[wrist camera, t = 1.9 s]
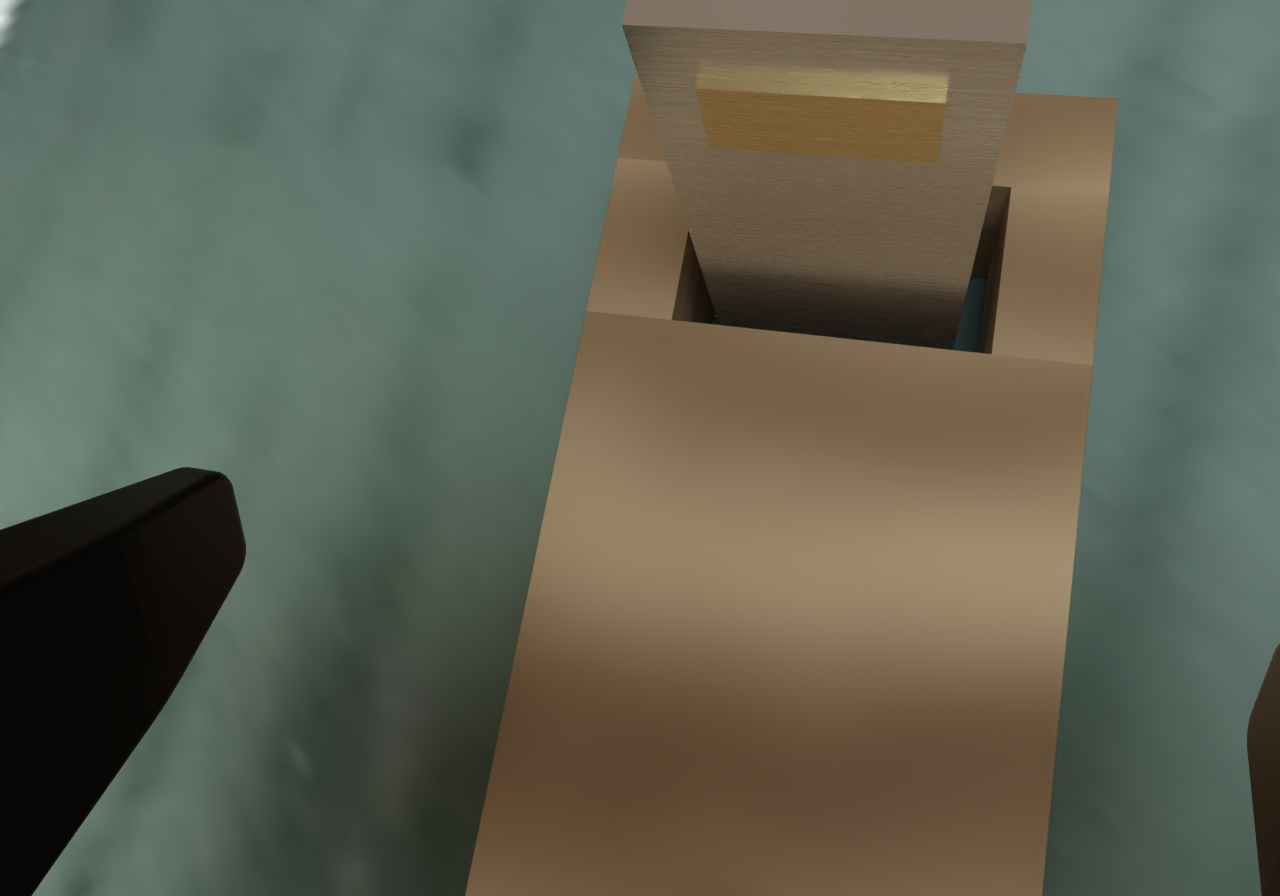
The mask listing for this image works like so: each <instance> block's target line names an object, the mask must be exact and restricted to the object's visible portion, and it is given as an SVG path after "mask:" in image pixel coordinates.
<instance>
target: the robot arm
mask: <svg viewBox="0 0 1280 896" xmlns="http://www.w3.org/2000/svg"><path fill="white" fill-rule="evenodd" d="M245 555H246V543H245V538H244V534H243V529H242V525H241V520H240V516H239V512H238V507H237V503H236V499H235V494H234V490H233V487H232V484H231V482H230V480H229V479H228V478H227V477H226V476H225V475H224V474H222V473H220V472H216V471H210V470H204V469H197V468H190V467H183V468H178V469H175V470H172V471H169V472H166V473H163V474H160V475H158V476H155V477H152V478H149V479H146V480H143V481H140V482H137V483H134V484H132V485H129V486H126V487H123V488H120V489H117V490H114V491H111V492H108V493H105V494H103V495H100V496H97V497H94V498H91V499H88V500H85V501H82V502H79V503H77V504H74V505H71V506H68V507H65V508H62V509H59V510H56V511H53V512H51V513H48V514H45V515H42V516H39V517H36V518H33V519H30V520H27V521H24V522H22V523H19V524H16V525H13V526H10V527H7V528H4V529H1V530H0V896H32V894H33V893H34V891H35V890H36V888H37V887H38V886H39V884H40V883H41V881H42V880H43V879H44V877H45V876H46V874H47V873H48V871H49V870H50V869H51V867H52V866H53V864H54V863H55V861H56V860H57V859H58V857H59V856H60V854H61V853H62V851H63V850H64V849H65V847H66V846H67V844H68V843H69V842H70V840H71V839H72V837H73V836H74V834H75V833H76V832H77V830H78V829H79V827H80V826H81V824H82V823H83V822H84V820H85V819H86V817H87V816H88V814H89V813H90V812H91V810H92V809H93V807H94V806H95V805H96V803H97V802H98V800H99V799H100V797H101V796H102V795H103V793H104V792H105V790H106V789H107V787H108V786H109V785H110V783H111V782H112V780H113V779H114V777H115V776H116V775H117V773H118V772H119V770H120V769H121V768H122V766H123V765H124V763H125V762H126V760H127V759H128V758H129V756H130V755H131V753H132V752H133V750H134V749H135V748H136V746H137V745H138V743H139V742H140V740H141V739H142V738H143V736H144V735H145V733H146V732H147V731H148V729H149V728H150V726H151V725H152V723H153V722H154V720H155V719H156V717H157V716H158V714H159V713H160V711H161V710H162V708H163V707H164V705H165V704H166V702H167V701H168V699H169V698H170V696H171V694H172V693H173V691H174V689H175V688H176V686H177V684H178V683H179V681H180V679H181V678H182V676H183V674H184V672H185V670H186V669H187V667H188V665H189V663H190V661H191V660H192V658H193V656H194V654H195V652H196V651H197V649H198V647H199V645H200V644H201V642H202V640H203V638H204V636H205V635H206V633H207V631H208V629H209V627H210V626H211V624H212V622H213V620H214V619H215V617H216V615H217V613H218V611H219V610H220V608H221V606H222V604H223V602H224V601H225V599H226V597H227V595H228V594H229V592H230V590H231V588H232V586H233V585H234V583H235V581H236V579H237V577H238V576H239V574H240V572H241V570H242V567H243V564H244V561H245ZM1247 751H1248V761H1249V771H1250V781H1251V791H1252V802H1253V812H1254V822H1255V832H1256V842H1257V853H1258V863H1259V873H1260V883H1261V893H1262V896H1280V644H1279V645H1278V647H1277V648H1276V650H1275V652H1274V654H1273V657H1272V660H1271V662H1270V665H1269V667H1268V670H1267V673H1266V675H1265V678H1264V681H1263V683H1262V686H1261V689H1260V691H1259V694H1258V697H1257V699H1256V702H1255V704H1254V707H1253V710H1252V712H1251V716H1250V719H1249V724H1248V732H1247Z"/></svg>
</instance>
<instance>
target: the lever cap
mask: <svg viewBox="0 0 1280 896" xmlns="http://www.w3.org/2000/svg"><path fill="white" fill-rule="evenodd" d="M1031 3H1032V0H627V2H626V7H625V12H624V17H623V21H622V27H623V30H624V33H625V36H626V39H627V42H628V45H629V49H630V52H631V55H632V58H633V61H634V64H635V67H636V70H637V73H638V76H639V79H640V82H641V86H642V89H643V92H644V95H645V98H646V101H647V104H648V107H649V110H650V113H651V116H652V119H653V122H654V126H655V129H656V132H657V135H658V138H659V141H660V144H661V147H662V150H663V153H664V156H665V159H666V162H667V166H668V169H669V172H670V175H671V178H672V181H673V184H674V187H675V190H676V193H677V196H678V199H679V202H680V206H681V209H682V212H683V215H684V218H685V221H686V224H687V227H688V230H689V233H690V236H691V239H692V242H693V246H694V249H695V252H696V255H697V258H698V261H699V264H700V267H701V270H702V273H703V276H704V279H705V282H706V286H707V289H708V292H709V295H710V298H711V301H712V304H713V307H714V310H715V313H716V316H717V319H718V323H719V325H723V326H732V327H742V328H751V329H760V330H770V331H779V332H788V333H798V334H807V335H816V336H826V337H835V338H844V339H854V340H863V341H872V342H882V343H891V344H900V345H909V346H919V347H928V348H937V349H947V350H953V346H954V342H955V338H956V334H957V330H958V326H959V321H960V317H961V313H962V309H963V305H964V301H965V297H966V292H967V288H968V284H969V280H970V276H971V272H972V268H973V263H974V259H975V255H976V251H977V247H978V243H979V239H980V235H981V230H982V226H983V222H984V218H985V214H986V210H987V206H988V201H989V197H990V193H991V189H992V185H993V181H994V177H995V173H996V168H997V164H998V160H999V156H1000V152H1001V148H1002V144H1003V139H1004V135H1005V131H1006V127H1007V123H1008V119H1009V115H1010V110H1011V106H1012V102H1013V98H1014V94H1015V90H1016V86H1017V82H1018V77H1019V73H1020V69H1021V65H1022V61H1023V57H1024V53H1025V48H1026V44H1027V37H1028V28H1029V20H1030V11H1031Z"/></svg>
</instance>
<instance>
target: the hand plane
mask: <svg viewBox="0 0 1280 896" xmlns="http://www.w3.org/2000/svg"><path fill="white" fill-rule="evenodd" d="M1117 105H1118V99H1116V98H1098V97H1080V96H1062V95H1044V94H1026V93H1015V94H1014V98H1013V102H1012V106H1011V110H1010V115H1009V119H1008V123H1007V127H1006V131H1005V135H1004V139H1003V144H1002V148H1001V152H1000V156H999V160H998V164H997V168H996V173H995V177H994V181H993V185H992V189H991V193H990V197H989V201H988V206H987V210H986V214H985V218H984V222H983V226H982V230H981V235H980V239H979V243H978V247H977V251H976V255H975V259H974V263H973V268H972V272H971V276H980V277H987V279H986V287H985V295H984V303H983V312H982V320H981V328H980V337H979V345H978V353H975V352H965V351H956V350H947V349H937V348H928V347H919V346H909V345H900V344H891V343H882V342H872V341H863V340H854V339H844V338H835V337H826V336H816V335H807V334H798V333H788V332H779V331H770V330H760V329H751V328H742V327H732V326H723V325H714V324H712V321H713V316H714V307H713V304H712V301H711V298H710V295H709V292H708V289H707V286H706V282H705V279H704V276H703V273H702V270H701V267H700V264H699V261H698V258H697V255H696V252H695V249H694V246H693V242H692V239H691V236H690V233H689V230H688V227H687V224H686V221H685V218H684V215H683V212H682V209H681V206H680V202H679V199H678V196H677V193H676V190H675V187H674V184H673V181H672V178H671V175H670V172H669V169H668V166H667V162H666V159H665V156H664V153H663V150H662V147H661V144H660V141H659V138H658V135H657V132H656V129H655V126H654V122H653V119H652V116H651V113H650V110H649V107H648V104H647V101H646V98H645V95H644V92H643V89H642V86H641V82H640V79H639V76H638V73H637V72H636V73H635V78H634V83H633V88H632V93H631V97H630V102H629V107H628V112H627V117H626V122H625V126H624V131H623V136H622V141H621V146H620V150H619V155H618V160H617V165H616V170H615V175H614V179H613V184H612V189H611V194H610V199H609V204H608V208H607V213H606V218H605V223H604V228H603V232H602V237H601V242H600V247H599V252H598V257H597V261H596V266H595V271H594V276H593V281H592V286H591V290H590V295H589V300H588V305H587V310H586V315H585V319H584V324H583V329H582V334H581V339H580V343H579V348H578V353H577V358H576V363H575V368H574V372H573V377H572V382H571V387H570V392H569V397H568V401H567V406H566V411H565V416H564V421H563V425H562V430H561V435H560V440H559V445H558V450H557V454H556V459H555V464H554V469H553V474H552V479H551V483H550V488H549V493H548V498H547V503H546V507H545V512H544V517H543V522H542V527H541V532H540V536H539V541H538V546H537V551H536V556H535V561H534V565H533V570H532V575H531V580H530V585H529V589H528V594H527V599H526V604H525V609H524V614H523V618H522V623H521V628H520V633H519V638H518V643H517V647H516V652H515V657H514V662H513V667H512V672H511V676H510V681H509V686H508V691H507V696H506V700H505V705H504V710H503V715H502V720H501V725H500V729H499V734H498V739H497V744H496V749H495V754H494V758H493V763H492V768H491V773H490V778H489V782H488V787H487V792H486V797H485V802H484V807H483V811H482V816H481V821H480V826H479V831H478V836H477V840H476V845H475V850H474V855H473V860H472V864H471V869H470V874H469V879H468V884H467V889H466V893H465V896H1042V891H1043V880H1044V870H1045V859H1046V849H1047V838H1048V828H1049V817H1050V807H1051V796H1052V786H1053V775H1054V765H1055V754H1056V744H1057V733H1058V723H1059V713H1060V702H1061V692H1062V681H1063V671H1064V660H1065V650H1066V639H1067V629H1068V618H1069V608H1070V597H1071V587H1072V576H1073V566H1074V555H1075V545H1076V534H1077V524H1078V513H1079V503H1080V493H1081V482H1082V472H1083V461H1084V451H1085V440H1086V430H1087V419H1088V409H1089V398H1090V388H1091V377H1092V367H1093V356H1094V346H1095V335H1096V325H1097V314H1098V304H1099V293H1100V283H1101V273H1102V262H1103V252H1104V241H1105V231H1106V220H1107V210H1108V199H1109V189H1110V178H1111V168H1112V157H1113V147H1114V136H1115V126H1116V115H1117Z"/></svg>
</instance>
